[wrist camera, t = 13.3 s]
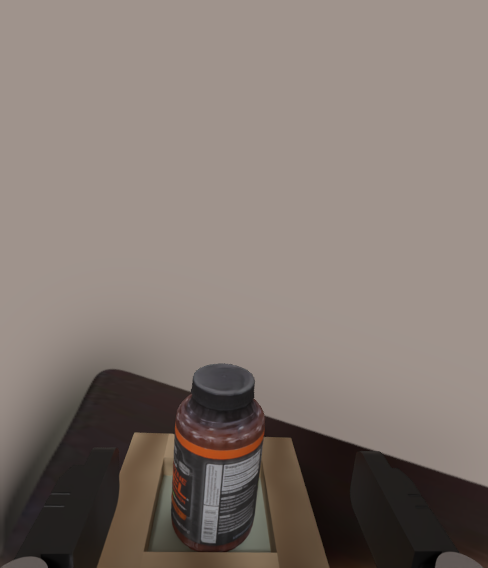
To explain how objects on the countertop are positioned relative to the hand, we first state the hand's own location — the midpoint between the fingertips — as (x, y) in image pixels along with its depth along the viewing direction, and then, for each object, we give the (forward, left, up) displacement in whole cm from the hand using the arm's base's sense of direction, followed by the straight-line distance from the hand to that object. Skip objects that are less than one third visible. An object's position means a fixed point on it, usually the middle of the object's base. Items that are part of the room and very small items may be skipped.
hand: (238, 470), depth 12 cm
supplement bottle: (0, -11, -14) cm, 18 cm away
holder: (0, -11, -14) cm, 18 cm away
